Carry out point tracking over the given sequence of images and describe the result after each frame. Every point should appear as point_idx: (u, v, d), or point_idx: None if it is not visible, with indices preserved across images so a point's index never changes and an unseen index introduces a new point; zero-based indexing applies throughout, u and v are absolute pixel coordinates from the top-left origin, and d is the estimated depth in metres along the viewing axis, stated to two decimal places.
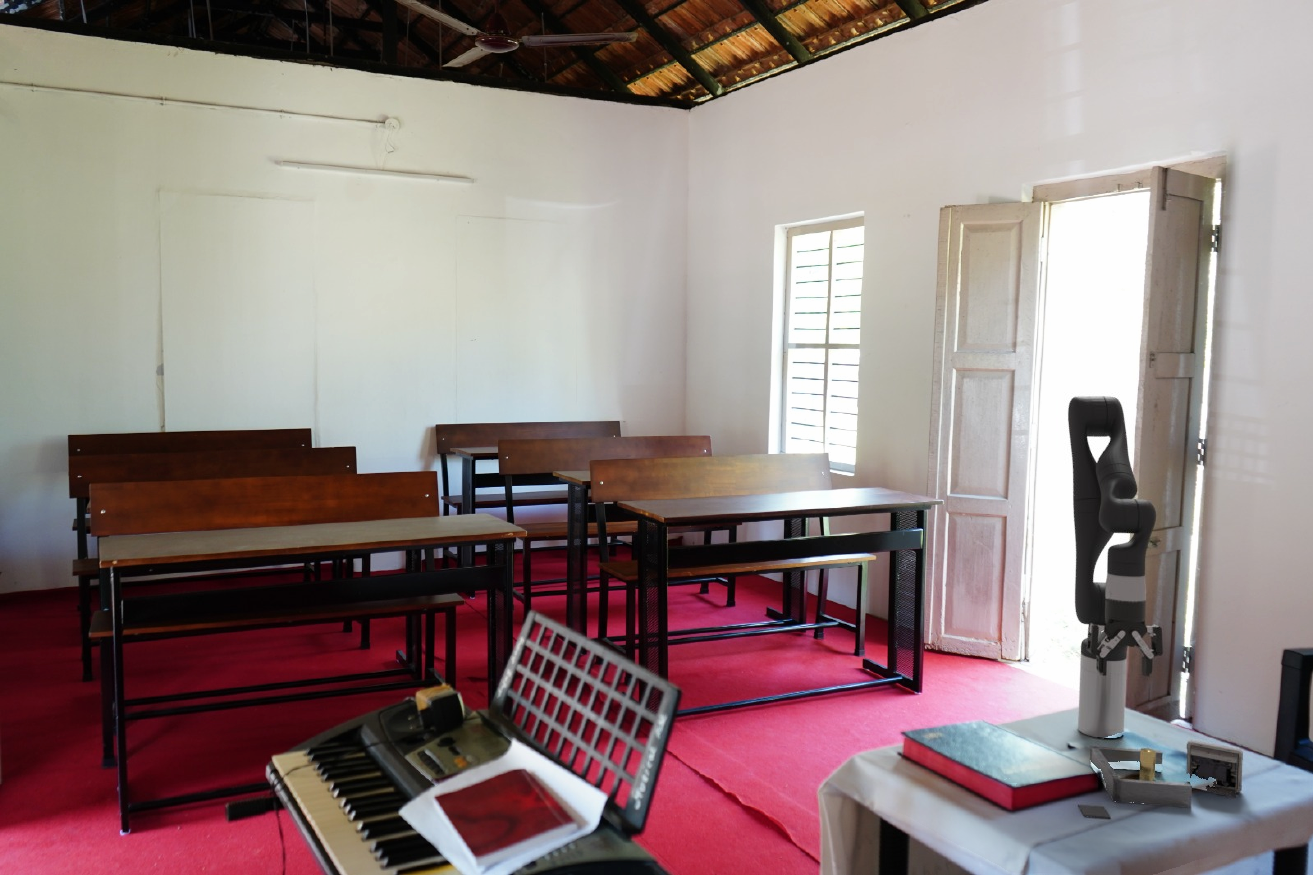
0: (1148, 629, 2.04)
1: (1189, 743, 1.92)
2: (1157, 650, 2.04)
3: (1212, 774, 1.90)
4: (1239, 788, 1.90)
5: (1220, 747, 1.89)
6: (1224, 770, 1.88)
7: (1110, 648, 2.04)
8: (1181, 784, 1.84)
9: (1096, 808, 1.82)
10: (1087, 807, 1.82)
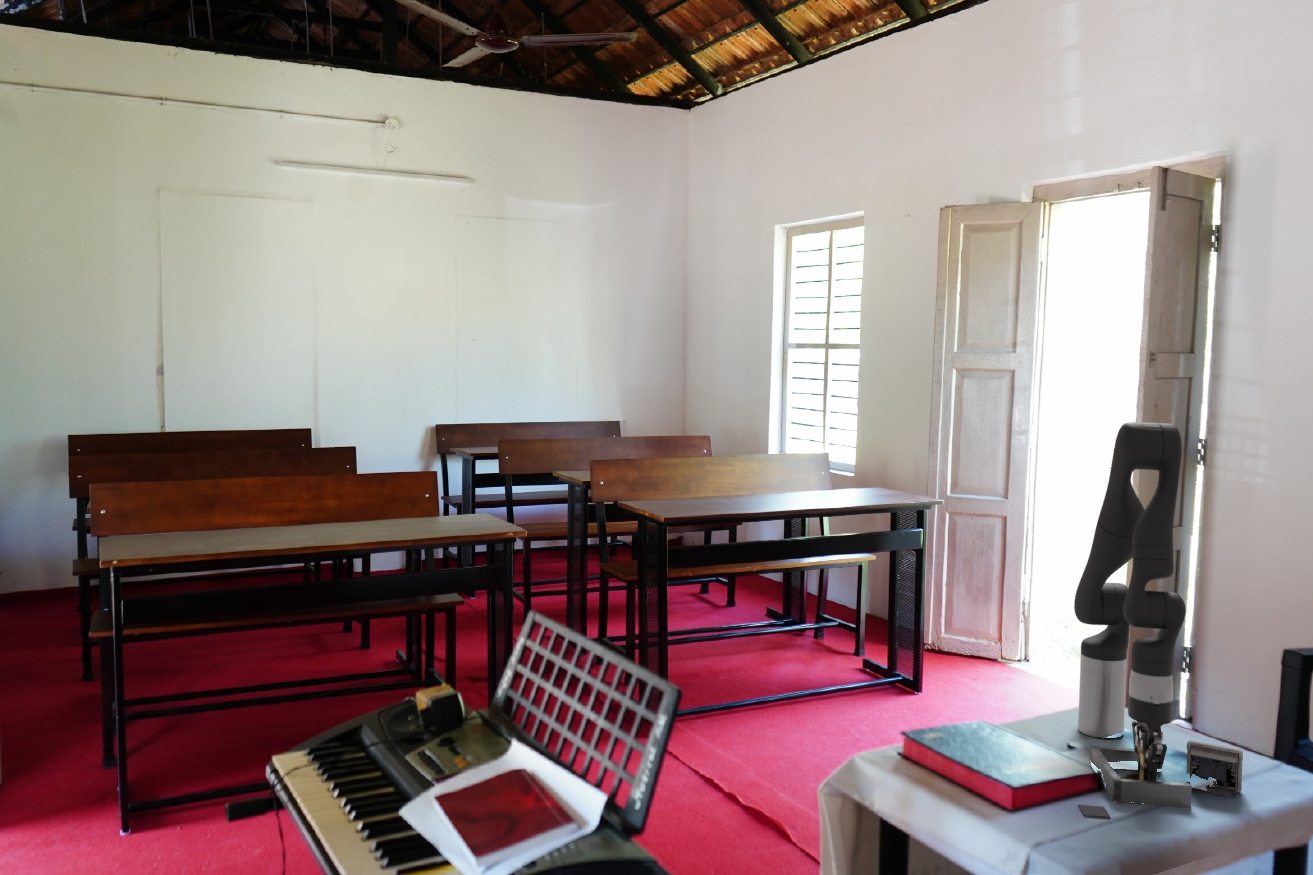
0: None
1: (1189, 743, 1.92)
2: None
3: (1212, 774, 1.90)
4: (1239, 788, 1.90)
5: (1220, 747, 1.89)
6: (1224, 770, 1.88)
7: None
8: (1181, 784, 1.84)
9: (1096, 808, 1.82)
10: (1087, 807, 1.82)
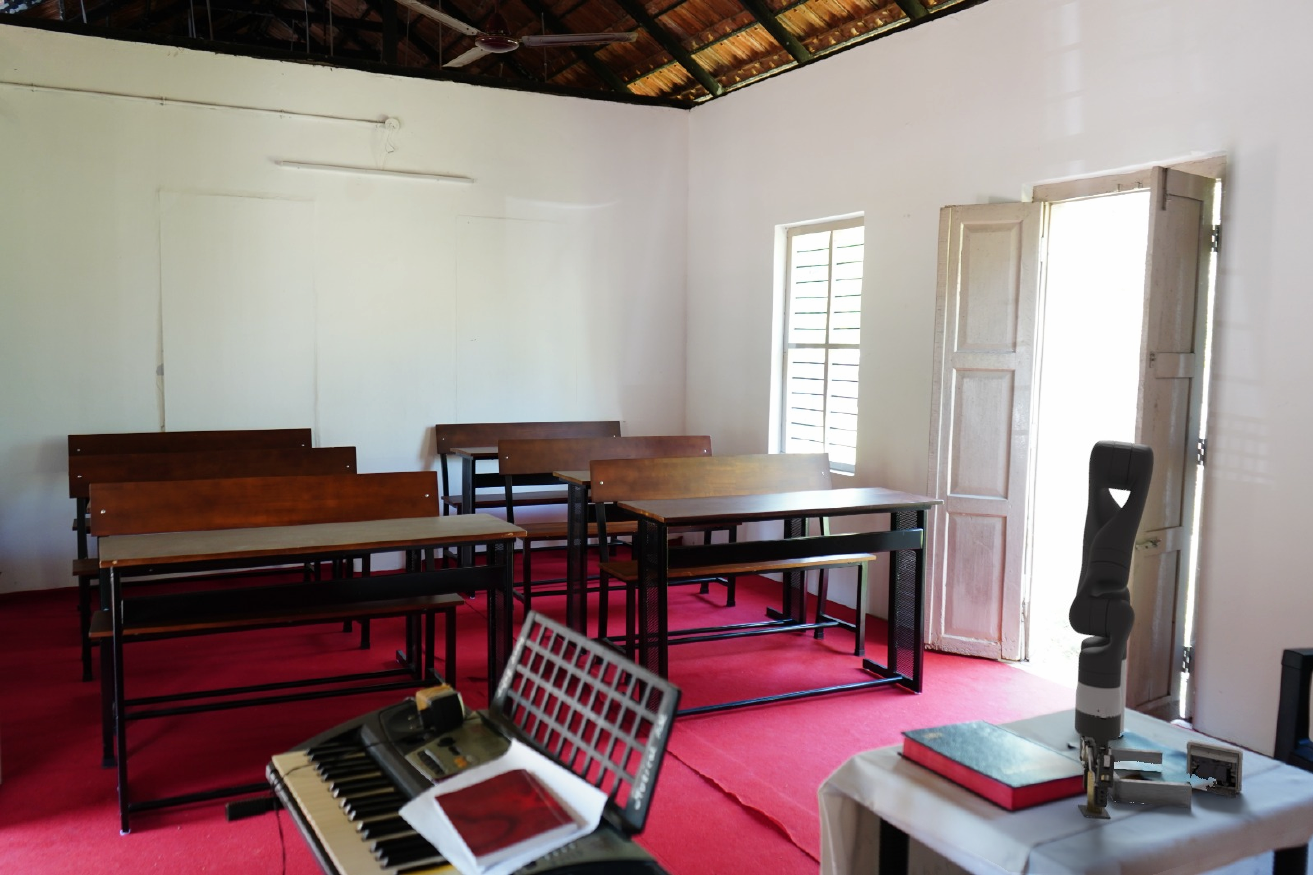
0: None
1: (1189, 743, 1.92)
2: None
3: (1212, 774, 1.90)
4: (1239, 788, 1.90)
5: (1220, 747, 1.89)
6: (1224, 770, 1.88)
7: None
8: (1181, 784, 1.84)
9: None
10: None
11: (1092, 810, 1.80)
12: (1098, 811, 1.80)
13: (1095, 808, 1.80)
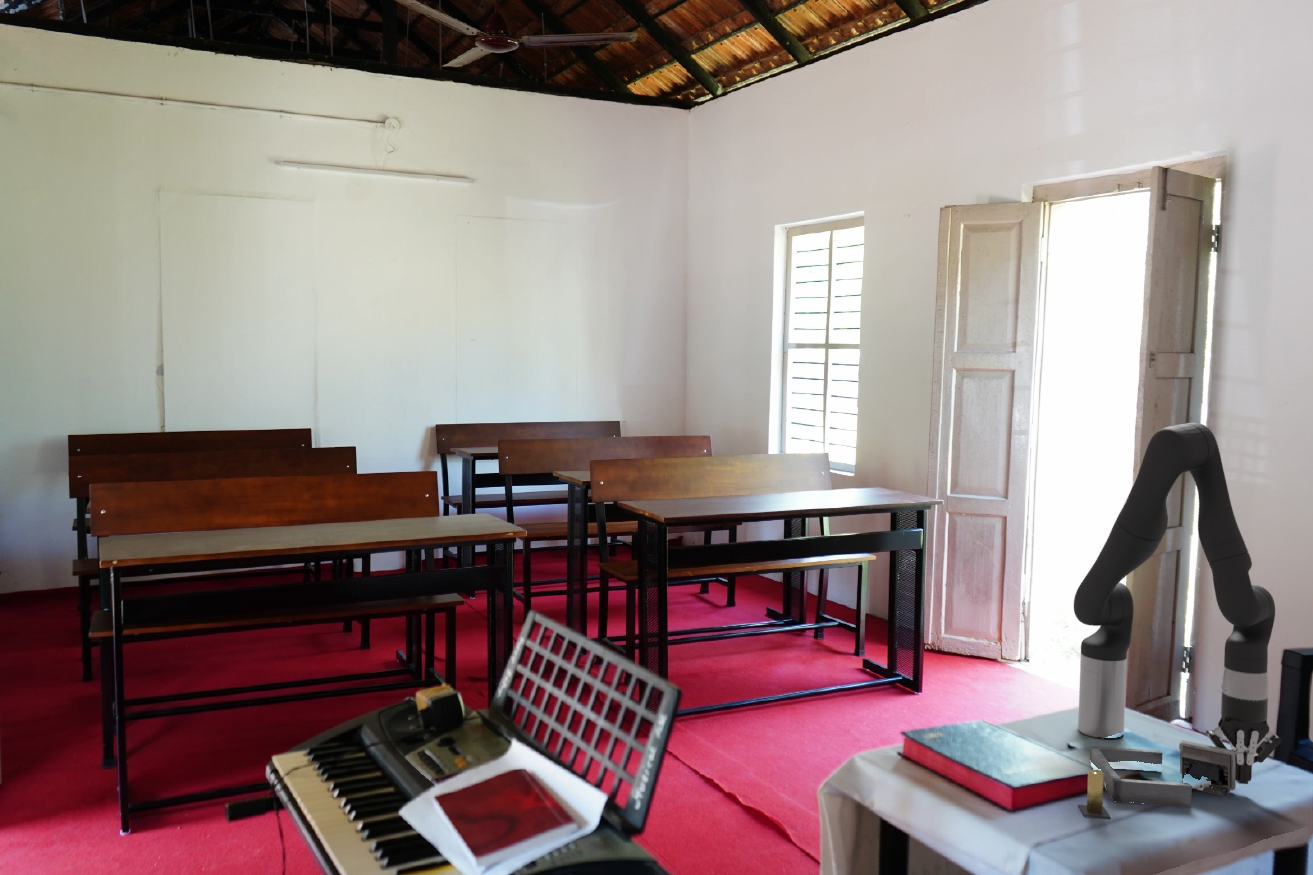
0: None
1: (1181, 744, 1.91)
2: None
3: (1205, 774, 1.90)
4: (1233, 786, 1.90)
5: (1212, 748, 1.88)
6: (1216, 771, 1.88)
7: None
8: (1181, 784, 1.84)
9: None
10: None
11: (1092, 810, 1.80)
12: (1098, 811, 1.80)
13: (1095, 808, 1.80)
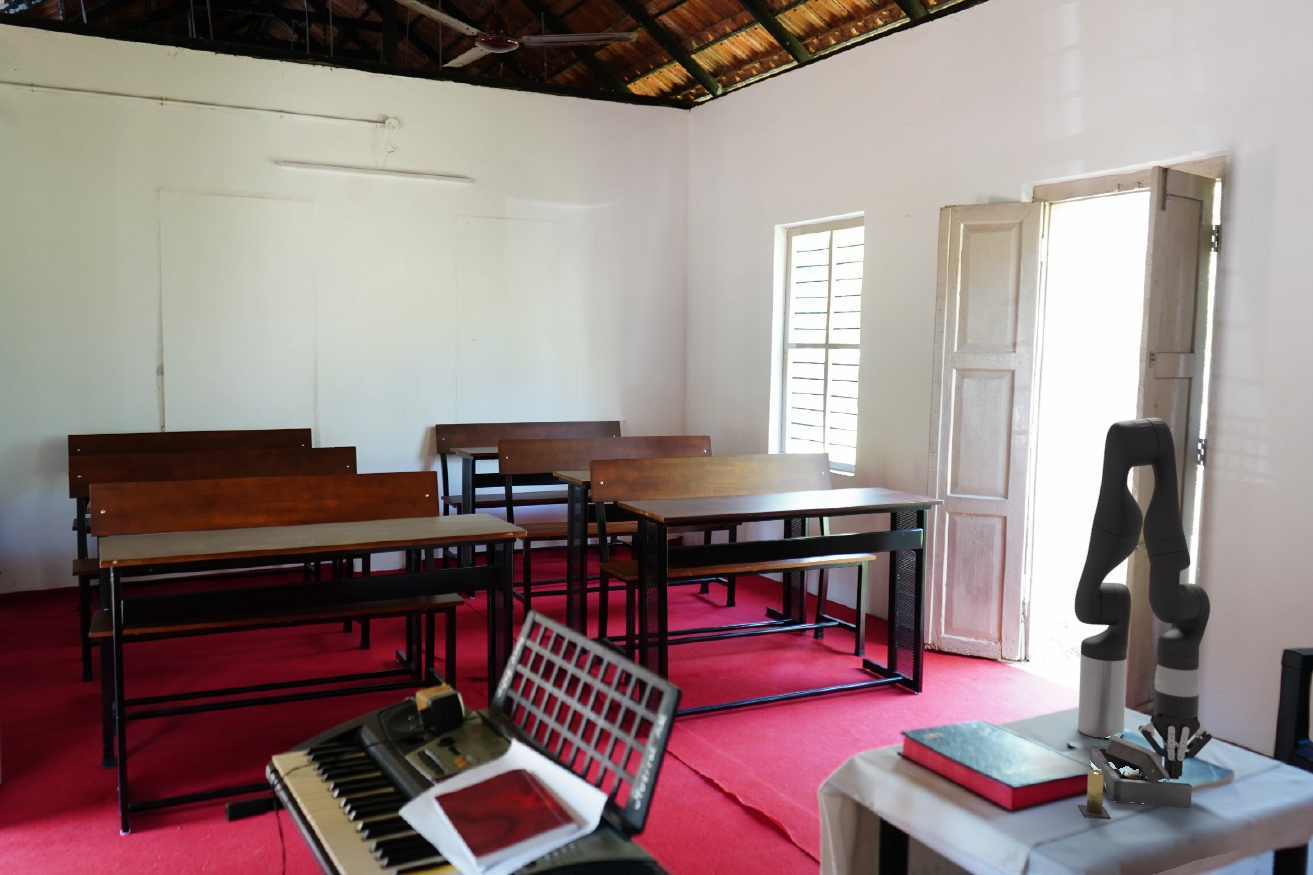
0: None
1: (1109, 738, 1.96)
2: None
3: (1136, 766, 1.94)
4: None
5: (1132, 746, 1.91)
6: (1140, 766, 1.91)
7: None
8: (1181, 784, 1.84)
9: None
10: None
11: (1092, 810, 1.80)
12: (1098, 811, 1.80)
13: (1095, 808, 1.80)
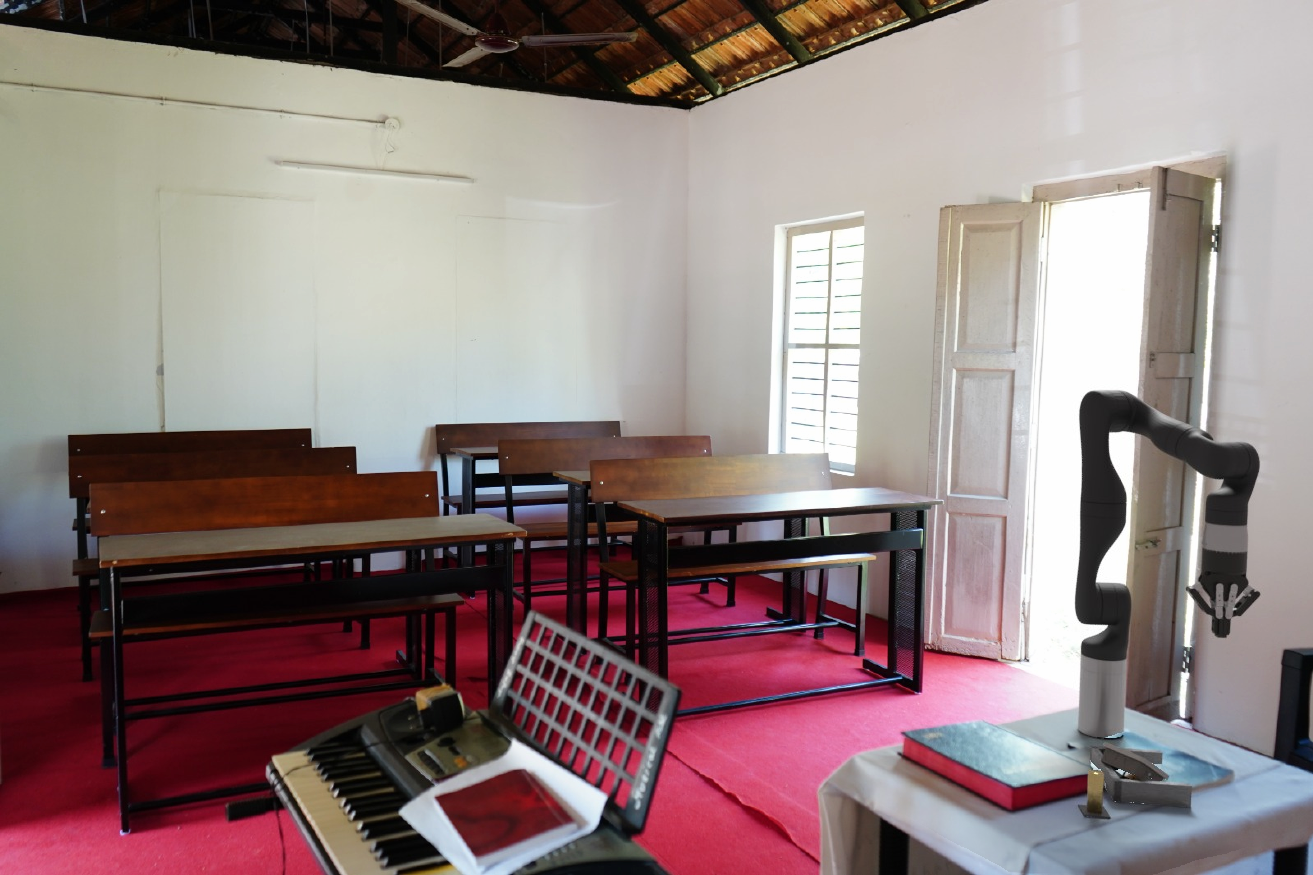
0: None
1: None
2: None
3: None
4: (1164, 778, 1.90)
5: (1125, 754, 1.90)
6: None
7: None
8: (1181, 784, 1.84)
9: None
10: None
11: (1092, 810, 1.80)
12: (1098, 811, 1.80)
13: (1095, 808, 1.80)
